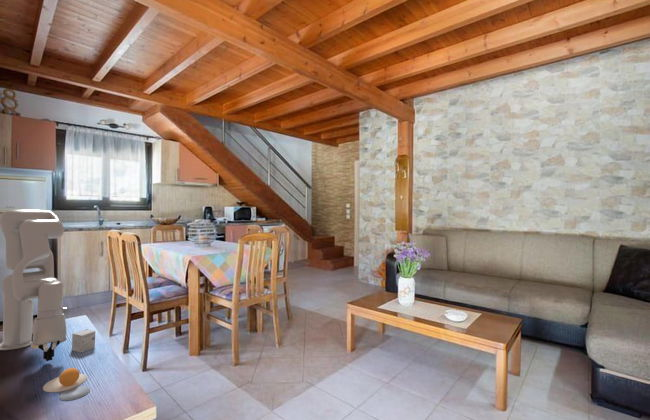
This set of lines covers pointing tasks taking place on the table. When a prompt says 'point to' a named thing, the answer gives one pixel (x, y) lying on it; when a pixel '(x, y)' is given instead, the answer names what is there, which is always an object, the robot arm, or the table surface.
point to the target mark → (57, 387)
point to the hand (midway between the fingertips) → (48, 359)
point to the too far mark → (74, 393)
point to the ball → (69, 377)
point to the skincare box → (83, 340)
